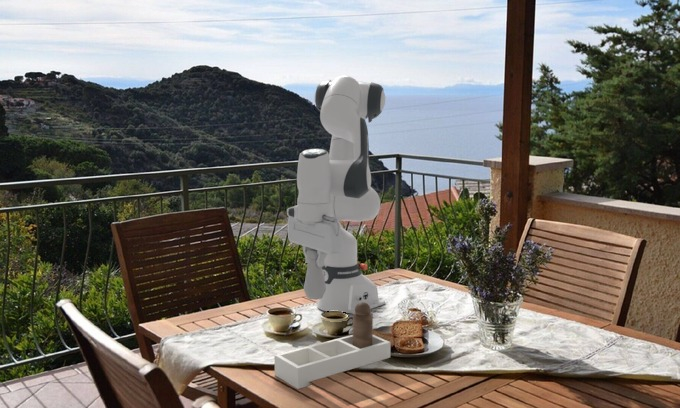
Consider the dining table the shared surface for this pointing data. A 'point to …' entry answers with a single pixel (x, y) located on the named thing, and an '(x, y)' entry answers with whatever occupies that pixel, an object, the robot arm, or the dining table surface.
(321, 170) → the robot arm
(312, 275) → the salt shaker
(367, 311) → the pepper mill
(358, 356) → the caddy
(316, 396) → the dining table surface
